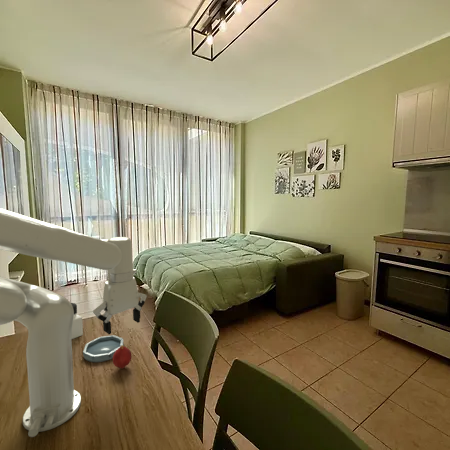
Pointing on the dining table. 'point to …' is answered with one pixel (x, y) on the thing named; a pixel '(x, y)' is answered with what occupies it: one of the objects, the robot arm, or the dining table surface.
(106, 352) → the dish
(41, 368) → the robot arm
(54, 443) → the dining table surface
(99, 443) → the dining table surface
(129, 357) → the onion
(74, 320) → the container
